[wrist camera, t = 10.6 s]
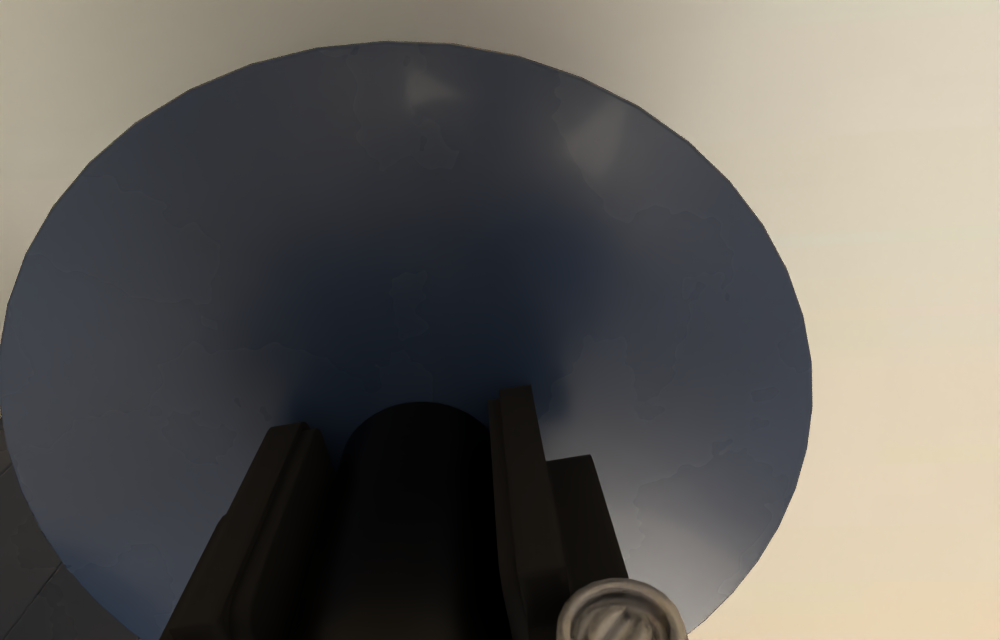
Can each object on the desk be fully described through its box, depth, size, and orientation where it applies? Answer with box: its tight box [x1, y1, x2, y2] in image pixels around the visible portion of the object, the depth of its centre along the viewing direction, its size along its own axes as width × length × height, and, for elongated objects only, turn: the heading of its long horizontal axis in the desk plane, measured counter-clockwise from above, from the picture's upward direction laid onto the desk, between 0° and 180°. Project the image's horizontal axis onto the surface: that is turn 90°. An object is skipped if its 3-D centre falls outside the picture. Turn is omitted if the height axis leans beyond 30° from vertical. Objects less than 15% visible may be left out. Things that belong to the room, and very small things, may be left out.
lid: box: [0, 41, 812, 640], centre depth 9 cm, size 14×14×6 cm
